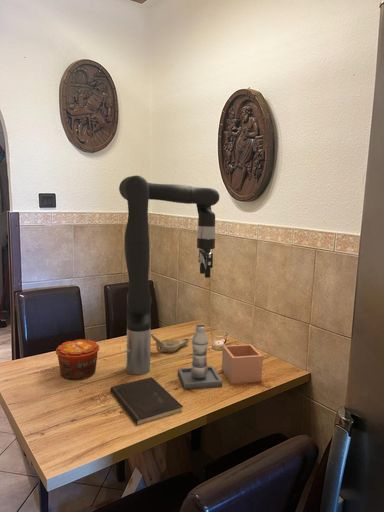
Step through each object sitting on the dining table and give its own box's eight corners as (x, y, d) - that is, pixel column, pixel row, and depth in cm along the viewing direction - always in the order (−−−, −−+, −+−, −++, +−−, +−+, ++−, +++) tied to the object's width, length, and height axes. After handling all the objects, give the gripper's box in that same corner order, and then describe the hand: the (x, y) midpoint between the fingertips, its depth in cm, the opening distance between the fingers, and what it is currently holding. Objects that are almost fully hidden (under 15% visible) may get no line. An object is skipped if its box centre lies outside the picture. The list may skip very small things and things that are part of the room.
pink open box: (231, 383, 139) (232, 358, 138) (221, 369, 151) (222, 345, 149) (261, 381, 142) (262, 356, 141) (249, 367, 154) (251, 344, 152)
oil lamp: (145, 352, 166) (146, 331, 164) (183, 342, 180) (183, 322, 178) (157, 359, 159) (157, 336, 158) (194, 347, 173) (195, 327, 172)
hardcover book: (151, 382, 139) (151, 376, 139) (182, 412, 120) (182, 406, 120) (110, 393, 131) (110, 386, 131) (136, 427, 112) (136, 420, 111)
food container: (47, 376, 141) (46, 348, 140) (78, 360, 155) (77, 336, 154) (78, 386, 134) (78, 358, 132) (108, 369, 148) (108, 343, 146)
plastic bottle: (208, 373, 145) (209, 323, 143) (207, 381, 138) (208, 329, 136) (191, 372, 146) (192, 322, 143) (189, 380, 139) (191, 328, 136)
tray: (184, 389, 134) (184, 384, 134) (178, 373, 146) (178, 368, 146) (222, 386, 137) (222, 381, 137) (212, 370, 150) (212, 365, 149)
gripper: (193, 235, 161) (192, 272, 163) (201, 238, 147) (200, 279, 150) (210, 235, 163) (209, 272, 165) (219, 238, 149) (218, 278, 151)
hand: (204, 275), depth 157 cm, fingers open, 8 cm apart
